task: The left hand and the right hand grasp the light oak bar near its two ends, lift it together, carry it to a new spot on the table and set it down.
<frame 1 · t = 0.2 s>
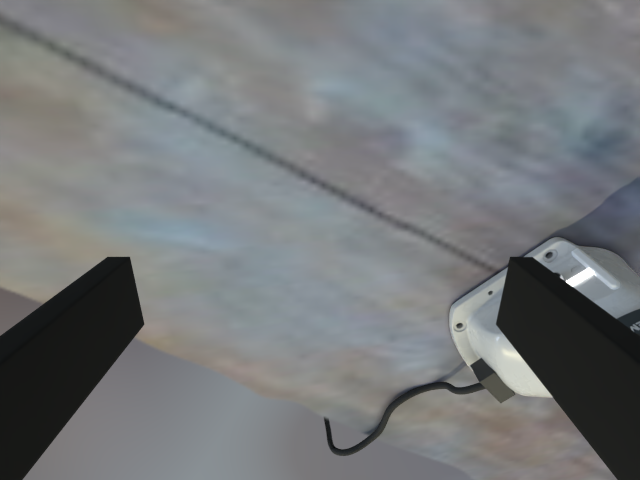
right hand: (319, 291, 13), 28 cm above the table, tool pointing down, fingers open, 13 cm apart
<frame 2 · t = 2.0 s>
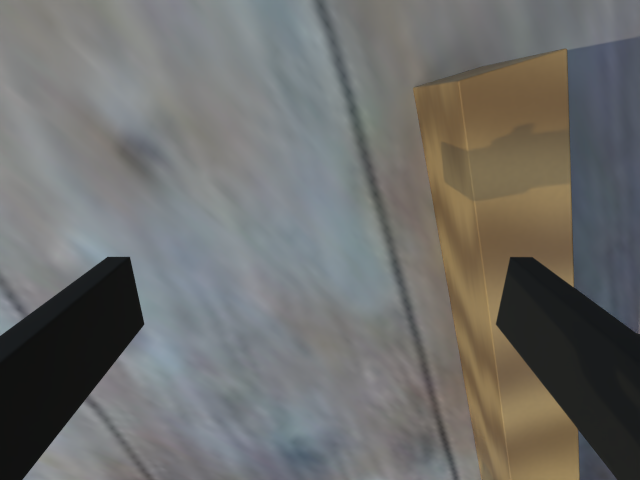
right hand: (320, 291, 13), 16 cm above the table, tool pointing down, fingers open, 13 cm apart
bar: (497, 426, 37), on the table
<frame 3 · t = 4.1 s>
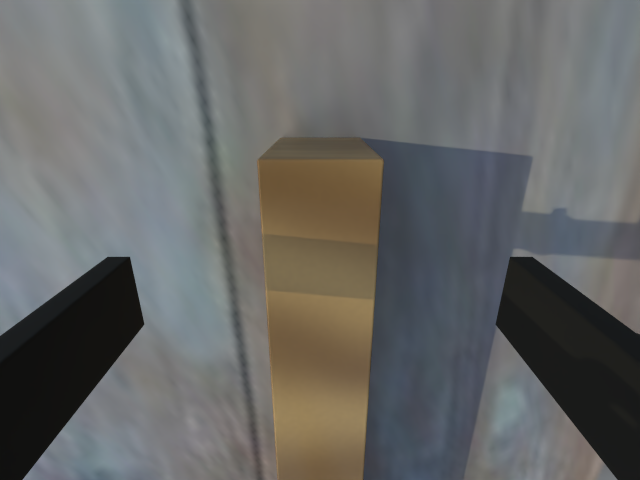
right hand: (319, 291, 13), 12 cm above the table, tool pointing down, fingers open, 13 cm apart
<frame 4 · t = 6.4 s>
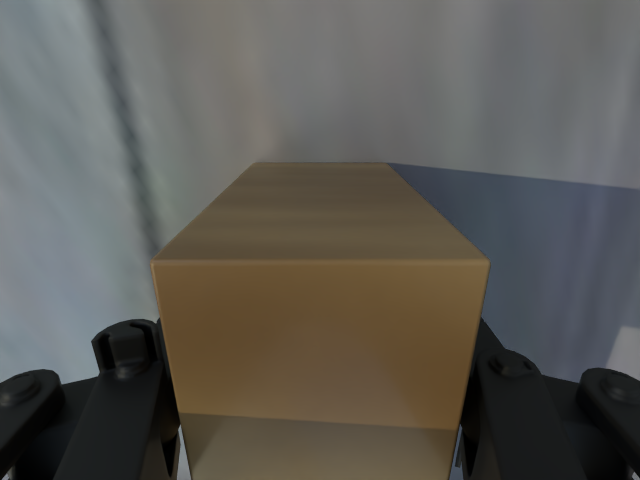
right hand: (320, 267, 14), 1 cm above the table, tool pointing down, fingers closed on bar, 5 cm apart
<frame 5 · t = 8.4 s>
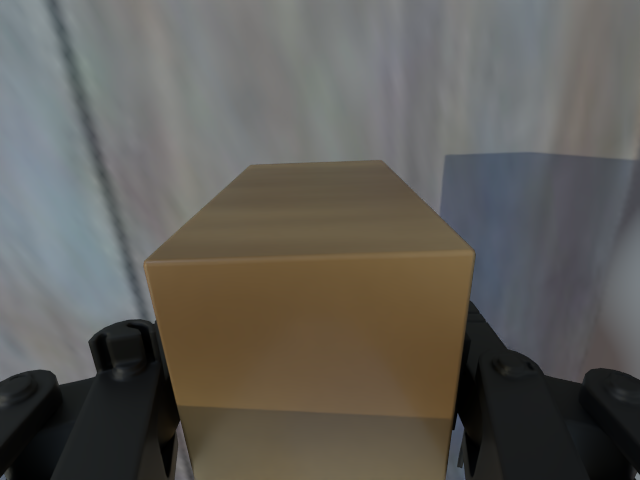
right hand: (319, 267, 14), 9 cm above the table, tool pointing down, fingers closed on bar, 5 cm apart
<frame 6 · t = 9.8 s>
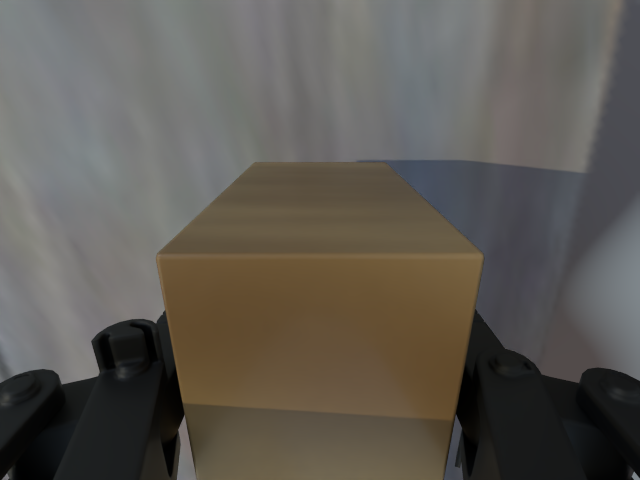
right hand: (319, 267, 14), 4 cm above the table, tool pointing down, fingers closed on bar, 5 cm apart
when the right hand's fingers open (2 cm above the table, at t = 10.4 s): bar stays where it is, on the table.
when the left hand's fingers open (4 cm above the table, at t = 10.6 s): bar stays where it is, on the table.
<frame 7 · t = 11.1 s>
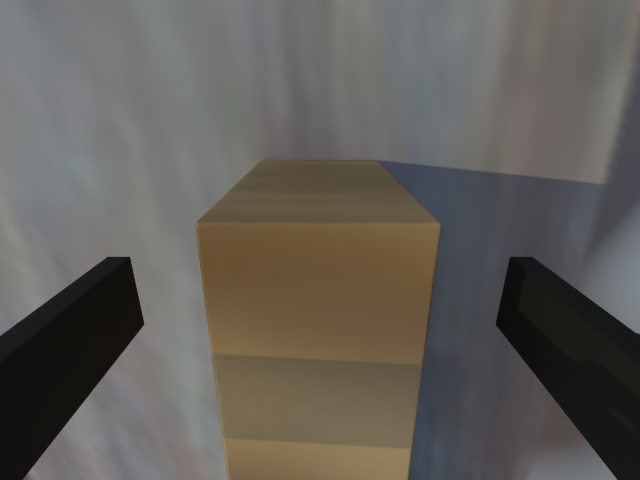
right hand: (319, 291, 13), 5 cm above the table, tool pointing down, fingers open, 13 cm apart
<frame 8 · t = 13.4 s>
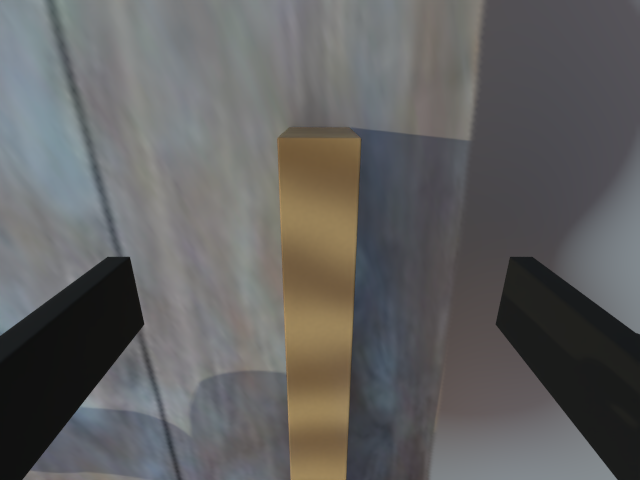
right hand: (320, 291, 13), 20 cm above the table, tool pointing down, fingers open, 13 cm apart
bar: (318, 430, 42), on the table
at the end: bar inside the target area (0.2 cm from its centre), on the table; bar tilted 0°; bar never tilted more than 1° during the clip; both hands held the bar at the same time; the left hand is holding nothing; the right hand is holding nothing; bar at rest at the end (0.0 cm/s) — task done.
